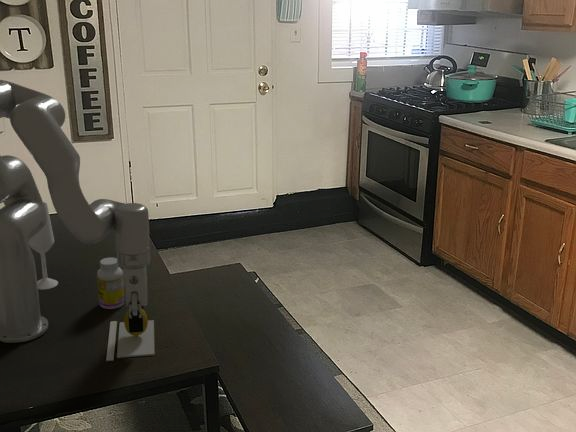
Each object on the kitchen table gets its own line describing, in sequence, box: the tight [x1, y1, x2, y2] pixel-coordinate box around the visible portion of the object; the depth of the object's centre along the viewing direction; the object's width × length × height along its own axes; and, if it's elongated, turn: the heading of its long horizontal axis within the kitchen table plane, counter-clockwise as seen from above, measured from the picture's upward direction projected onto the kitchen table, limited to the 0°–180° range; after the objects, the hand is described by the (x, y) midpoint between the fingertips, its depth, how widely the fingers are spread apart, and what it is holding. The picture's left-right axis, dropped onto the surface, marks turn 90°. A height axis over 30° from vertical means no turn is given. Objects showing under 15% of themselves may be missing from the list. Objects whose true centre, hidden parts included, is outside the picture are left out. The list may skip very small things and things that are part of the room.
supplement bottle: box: [96, 257, 125, 310], centre depth 166 cm, size 7×7×13 cm
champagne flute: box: [28, 201, 59, 290], centre depth 174 cm, size 7×7×24 cm
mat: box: [116, 319, 156, 359], centre depth 152 cm, size 8×16×1 cm, turn 12°
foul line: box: [105, 320, 118, 362], centre depth 151 cm, size 2×18×1 cm, turn 12°
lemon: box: [123, 307, 149, 337], centre depth 151 cm, size 6×6×8 cm
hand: (136, 321), depth 150 cm, fingers open, 8 cm apart
